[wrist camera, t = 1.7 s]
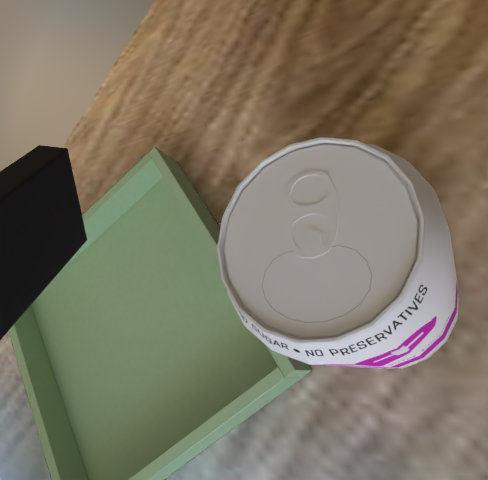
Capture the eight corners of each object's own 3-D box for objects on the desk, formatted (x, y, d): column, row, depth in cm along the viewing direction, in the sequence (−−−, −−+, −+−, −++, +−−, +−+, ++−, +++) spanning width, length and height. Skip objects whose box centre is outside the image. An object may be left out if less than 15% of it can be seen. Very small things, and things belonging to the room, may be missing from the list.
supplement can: (470, 367, 24) (468, 361, 12) (324, 369, 28) (199, 365, 15) (449, 228, 27) (429, 94, 14) (317, 245, 30) (204, 150, 17)
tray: (177, 162, 38) (154, 146, 35) (312, 370, 28) (295, 370, 26) (27, 299, 42) (-3, 294, 39) (101, 525, 32) (68, 539, 29)
